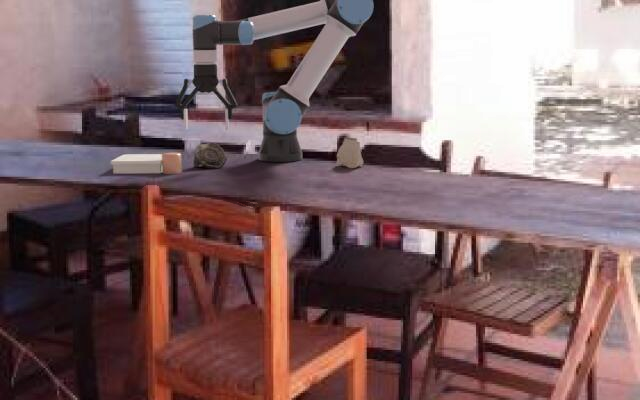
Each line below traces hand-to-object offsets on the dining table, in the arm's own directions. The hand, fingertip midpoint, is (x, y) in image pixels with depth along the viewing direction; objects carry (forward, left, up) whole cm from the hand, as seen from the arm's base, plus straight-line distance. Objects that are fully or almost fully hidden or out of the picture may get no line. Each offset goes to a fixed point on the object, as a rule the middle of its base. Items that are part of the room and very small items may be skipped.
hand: (206, 129), depth 301 cm
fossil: (-1, 0, -13) cm, 13 cm away
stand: (+21, +5, -12) cm, 25 cm away
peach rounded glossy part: (+10, +11, -13) cm, 19 cm away
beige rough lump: (-46, +1, -13) cm, 48 cm away
